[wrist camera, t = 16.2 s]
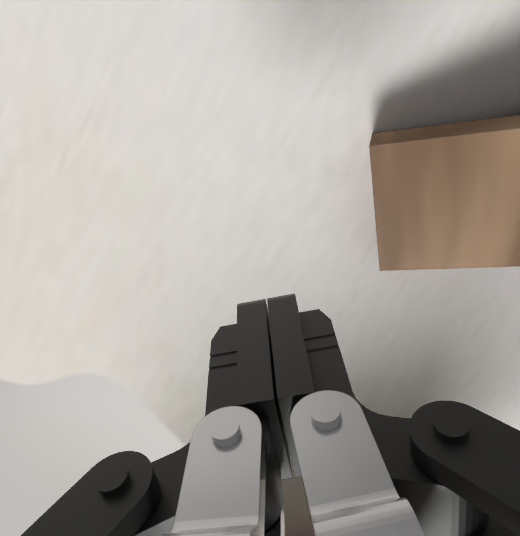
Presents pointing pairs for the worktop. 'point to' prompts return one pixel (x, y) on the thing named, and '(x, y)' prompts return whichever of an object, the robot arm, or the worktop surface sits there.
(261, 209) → the worktop surface
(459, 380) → the worktop surface
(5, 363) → the worktop surface
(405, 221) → the domino
